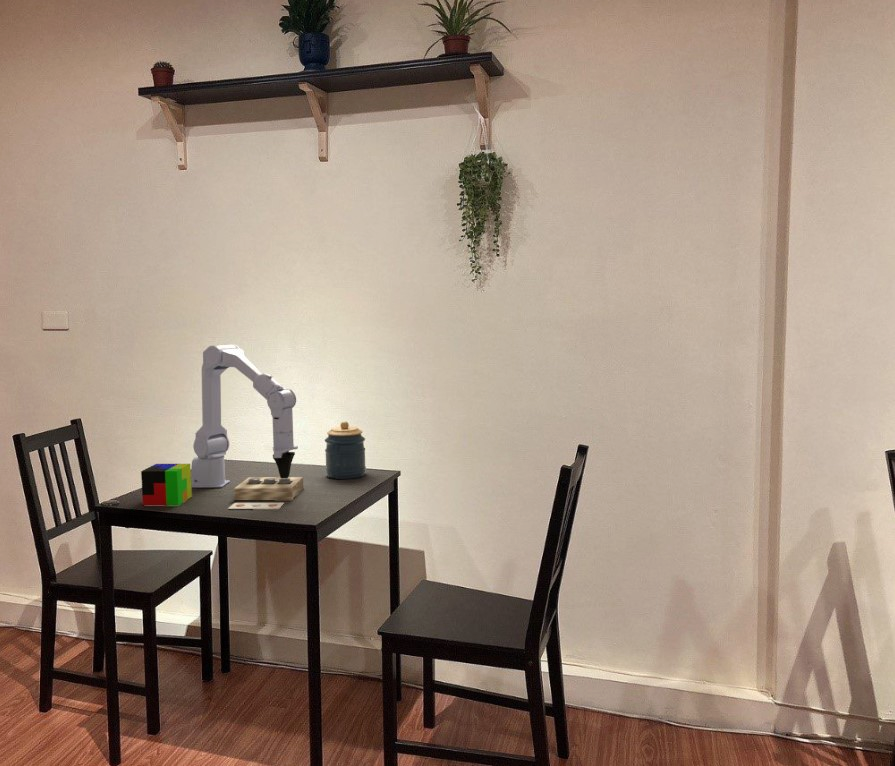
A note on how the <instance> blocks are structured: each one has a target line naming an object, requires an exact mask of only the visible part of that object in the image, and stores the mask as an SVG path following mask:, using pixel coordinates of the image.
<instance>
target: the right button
mask: <svg viewBox="0 0 895 766" xmlns="http://www.w3.org/2000/svg"><path fill="white" fill-rule="evenodd" d="M279 484H290V478H281V479H279Z"/></svg>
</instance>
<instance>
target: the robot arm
mask: <svg viewBox="0 0 895 766" xmlns="http://www.w3.org/2000/svg"><path fill="white" fill-rule="evenodd" d="M229 368H235V369H236V370H237V371H239V372H240V373H241V374H243V375H244V376H245V377H246V378H248V380H250V381H251V382H252V387H253V389H254V390H255V391H256V392H257V393H259V395H261V396H262V397H263V398H264V399H265V400H266V404H267V406H268V408H269V410H270V415H271V417H272V441H273V442H272V443H273V445H272V451H273V454H272V459H273V461H274V462H275V464H276V466H277V470H278V474H279V477H281V478H288V477H290V473H291V466H292V462H293V459H294V457H295V455H296V452H295V451H293V450H298V447H299V446H298V445H294V415H293V408H294V407H295V405H296V403H297V396H296V394H295V392H294V391H293V390H292V388H291V389H290V388H285V387H283V385H281V384H280V383H278V382H277V381H276V380H275V379H274V378H273V376H272V375H271V374H270V373H262V372H260V370H259V369H258V368H257V367H256V366H255V365H254V364H253V363H252V362H251V361H250V360H249V359H248V358H247V357H246V356H245V352H244V350H243V349H242V348H240V347H239V346H238V344H234V343H231V344H225V345H223V344H222V345H209V346H208V347H207V348H206V349H205V350H203V351H202V364H201V410H202V411H201V412H202V413H201V414H202V415H201V416H202V417H201V419H202V426H201V427H200V428H199V429H198V430H197V431H196V432H195V439H194V442H193V451H194V453H195V455H196V456H194V457H193V459H192V460H191V464H190V467H191V488H224V486H226V485H227V484H228V483H229V482H231V481H230V480H229V479H226V465H225V463H226V462H225V456H226V455H227V453H226V452H227V451H229V448H230V439H229V436H228V431H227V429H226V428H225V427H224V426H223V425H222V398H221V397H222V394H221V393H222V392H221V391H222V389H221V388H222V387H221V378H222V377H221V375H222V374H223V373H224V372H225V371H226V370H228V369H229Z"/></svg>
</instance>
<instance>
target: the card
mask: <svg viewBox="0 0 895 766" xmlns="http://www.w3.org/2000/svg"><path fill="white" fill-rule="evenodd" d="M284 503H285V502H234V503H232V504H231V505H230V506H229V507H228V508H227V510H228V509H253V510H280V509H281V508H282V507H283V506H284V505H285V504H284ZM283 504H284V505H283ZM282 505H283V506H282ZM281 506H282V507H281Z"/></svg>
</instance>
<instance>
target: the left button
mask: <svg viewBox="0 0 895 766" xmlns="http://www.w3.org/2000/svg"><path fill="white" fill-rule="evenodd" d="M249 484H260V479H259V478H251V479H249Z"/></svg>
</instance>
